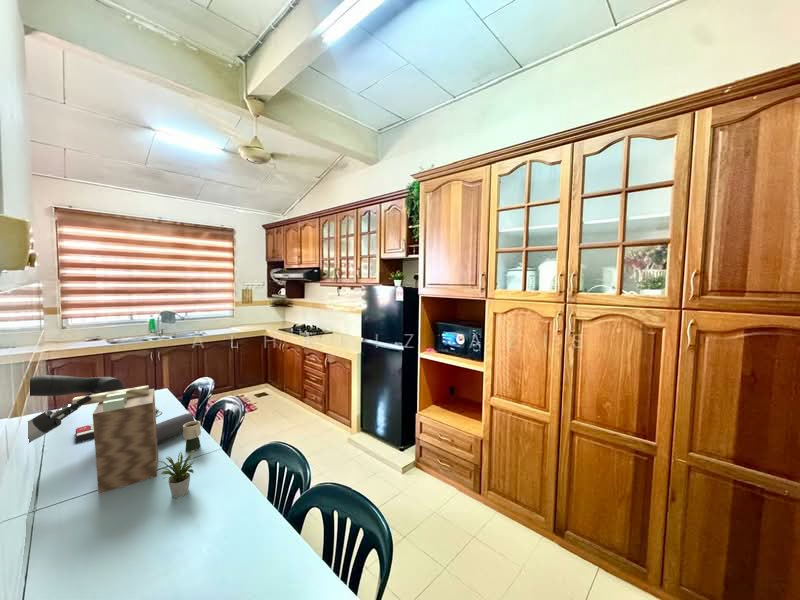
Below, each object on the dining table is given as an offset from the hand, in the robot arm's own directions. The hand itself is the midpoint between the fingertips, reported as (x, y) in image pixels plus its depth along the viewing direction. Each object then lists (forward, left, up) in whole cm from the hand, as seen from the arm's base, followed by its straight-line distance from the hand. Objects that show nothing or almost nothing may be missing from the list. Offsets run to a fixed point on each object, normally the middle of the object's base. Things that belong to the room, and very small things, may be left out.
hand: (90, 395), depth 130 cm
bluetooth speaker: (-31, +6, -35) cm, 48 cm away
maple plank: (-4, +5, -3) cm, 7 cm away
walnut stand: (-3, +12, -35) cm, 37 cm away
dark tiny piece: (-55, -36, -36) cm, 75 cm away
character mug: (-21, +27, -35) cm, 49 cm away
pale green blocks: (+2, +13, -3) cm, 14 cm away
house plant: (+11, +44, -35) cm, 57 cm away
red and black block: (-35, -41, -36) cm, 65 cm away
